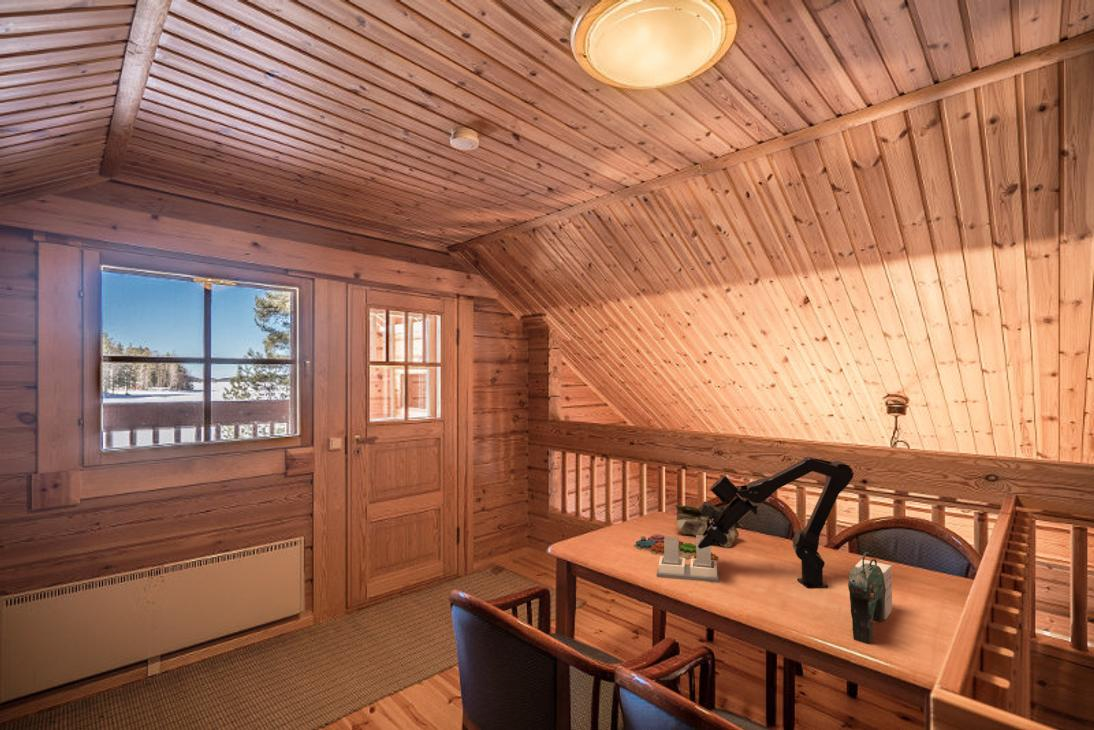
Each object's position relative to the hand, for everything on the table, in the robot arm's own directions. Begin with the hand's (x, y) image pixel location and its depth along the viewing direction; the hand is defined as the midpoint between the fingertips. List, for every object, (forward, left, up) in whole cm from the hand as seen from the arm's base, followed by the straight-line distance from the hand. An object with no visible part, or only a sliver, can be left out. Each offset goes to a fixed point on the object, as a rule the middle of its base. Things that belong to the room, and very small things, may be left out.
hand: (698, 545), depth 174 cm
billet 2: (0, -1, -7) cm, 8 cm away
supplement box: (-31, -37, -10) cm, 50 cm away
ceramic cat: (-40, -29, -9) cm, 51 cm away
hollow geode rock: (+36, -15, -10) cm, 40 cm away
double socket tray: (+1, +3, -9) cm, 10 cm away
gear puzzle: (+22, +1, -10) cm, 24 cm away
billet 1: (+3, +8, -8) cm, 12 cm away
